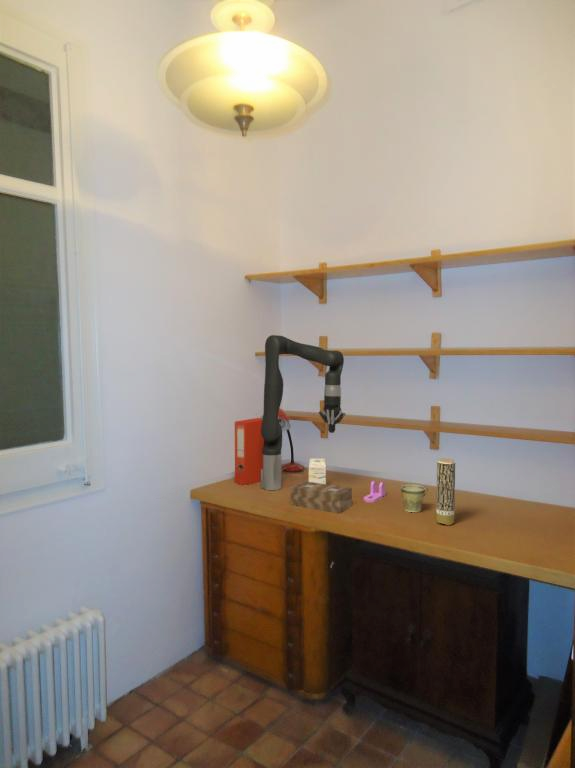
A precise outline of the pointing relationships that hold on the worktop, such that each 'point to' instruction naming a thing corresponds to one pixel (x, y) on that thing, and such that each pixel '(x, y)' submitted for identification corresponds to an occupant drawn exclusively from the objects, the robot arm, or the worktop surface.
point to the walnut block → (321, 497)
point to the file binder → (248, 451)
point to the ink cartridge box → (317, 471)
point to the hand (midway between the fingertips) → (331, 432)
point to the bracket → (375, 492)
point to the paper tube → (445, 491)
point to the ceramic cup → (413, 497)
